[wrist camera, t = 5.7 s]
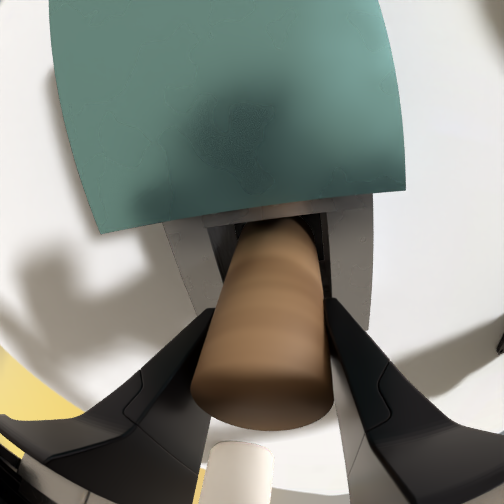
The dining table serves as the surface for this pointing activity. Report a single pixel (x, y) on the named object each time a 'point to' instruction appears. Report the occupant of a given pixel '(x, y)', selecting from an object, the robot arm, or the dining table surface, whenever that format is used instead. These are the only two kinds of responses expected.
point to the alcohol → (238, 474)
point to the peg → (268, 333)
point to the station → (233, 125)
